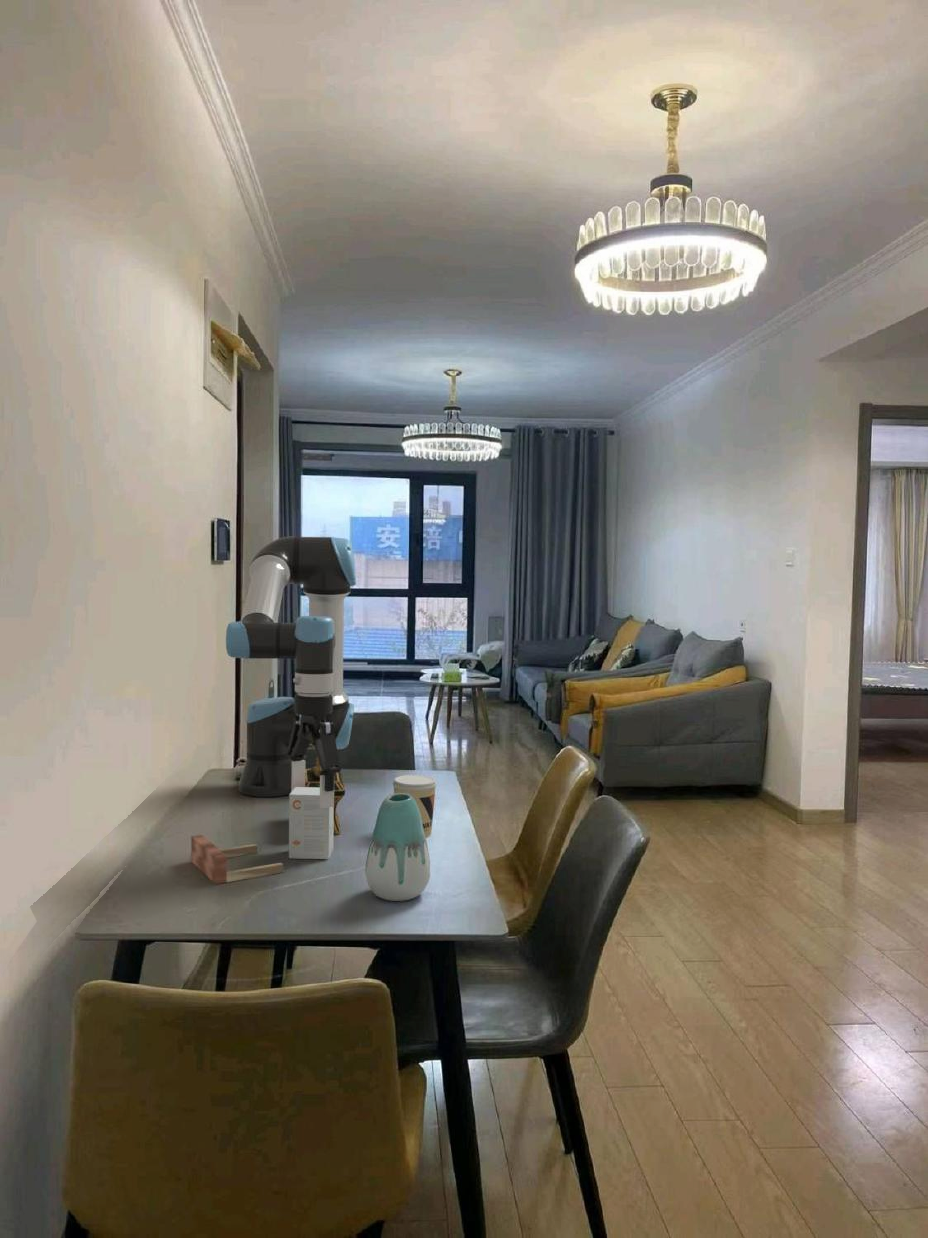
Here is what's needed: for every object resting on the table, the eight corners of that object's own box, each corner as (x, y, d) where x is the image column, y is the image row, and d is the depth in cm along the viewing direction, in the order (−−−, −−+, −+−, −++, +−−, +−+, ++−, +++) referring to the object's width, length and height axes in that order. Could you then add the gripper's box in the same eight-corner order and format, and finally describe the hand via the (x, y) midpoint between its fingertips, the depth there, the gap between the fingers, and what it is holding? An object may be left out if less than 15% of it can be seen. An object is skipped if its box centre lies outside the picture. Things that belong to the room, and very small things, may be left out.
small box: (333, 850, 190) (334, 787, 189) (328, 860, 183) (329, 795, 183) (294, 848, 190) (294, 786, 189) (287, 859, 184) (288, 794, 183)
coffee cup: (429, 842, 197) (430, 786, 196) (386, 838, 199) (387, 782, 198) (439, 829, 206) (440, 776, 205) (398, 826, 208) (399, 773, 207)
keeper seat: (191, 861, 180) (191, 836, 180) (255, 851, 188) (255, 826, 187) (215, 884, 169) (216, 857, 168) (283, 872, 176) (283, 846, 175)
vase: (376, 910, 158) (378, 807, 157) (356, 887, 169) (358, 790, 167) (439, 902, 163) (442, 801, 162) (416, 880, 173) (418, 785, 172)
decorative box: (298, 816, 213) (299, 731, 212) (340, 815, 215) (341, 731, 214) (298, 843, 193) (299, 750, 192) (345, 842, 195) (346, 749, 194)
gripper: (271, 687, 193) (270, 788, 194) (323, 703, 172) (321, 816, 173) (305, 685, 197) (303, 784, 198) (359, 700, 176) (357, 811, 177)
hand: (312, 799), depth 186 cm, fingers open, 13 cm apart
